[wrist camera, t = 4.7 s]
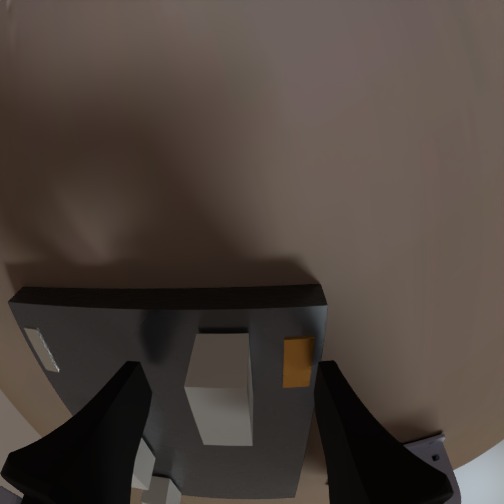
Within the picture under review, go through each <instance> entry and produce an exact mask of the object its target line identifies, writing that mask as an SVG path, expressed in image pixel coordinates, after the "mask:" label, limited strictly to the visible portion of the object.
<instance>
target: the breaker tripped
mask: <svg viewBox="0 0 504 504" xmlns="http://www.w3.org/2000/svg"><path fill="white" fill-rule="evenodd" d="M184 388H185V392H186V395H187V398H188V401H189V404H190V407H191V410H192V413H193V416H194V419H195V422H196V424H197V427H198V430H199V433H200V436H201V438H202V441H203V444H204V445H223V446H253V387H252V373H251V360H250V346H249V333H243V334H196V338H195V342H194V346H193V350H192V354H191V359H190V363H189V367H188V372H187V376H186V380H185V385H184Z"/></svg>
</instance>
